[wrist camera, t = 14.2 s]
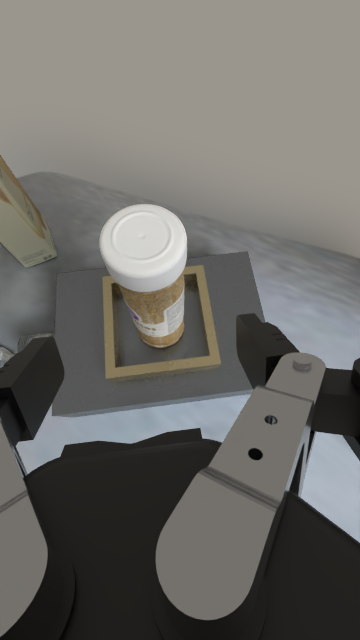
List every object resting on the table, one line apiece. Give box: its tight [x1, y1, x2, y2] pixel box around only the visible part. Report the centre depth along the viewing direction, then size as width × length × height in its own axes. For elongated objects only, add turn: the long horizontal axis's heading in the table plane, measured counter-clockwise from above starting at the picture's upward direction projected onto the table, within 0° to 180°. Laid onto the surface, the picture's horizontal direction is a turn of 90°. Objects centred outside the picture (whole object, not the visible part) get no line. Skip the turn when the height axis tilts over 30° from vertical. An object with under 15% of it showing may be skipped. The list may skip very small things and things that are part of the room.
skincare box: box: [0, 155, 57, 268], centre depth 30 cm, size 6×4×12 cm
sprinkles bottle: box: [99, 204, 187, 348], centre depth 20 cm, size 5×5×14 cm
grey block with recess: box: [18, 251, 265, 417], centre depth 28 cm, size 24×14×7 cm, turn 97°
